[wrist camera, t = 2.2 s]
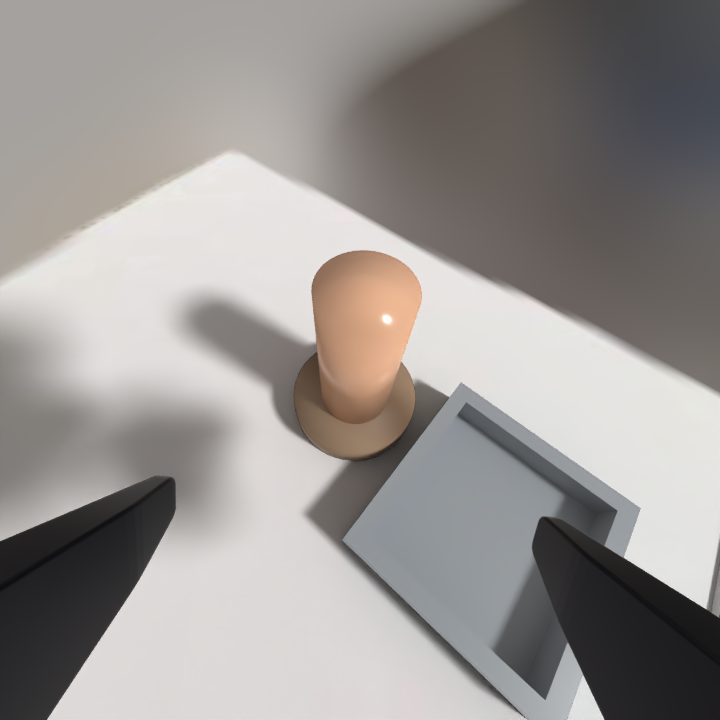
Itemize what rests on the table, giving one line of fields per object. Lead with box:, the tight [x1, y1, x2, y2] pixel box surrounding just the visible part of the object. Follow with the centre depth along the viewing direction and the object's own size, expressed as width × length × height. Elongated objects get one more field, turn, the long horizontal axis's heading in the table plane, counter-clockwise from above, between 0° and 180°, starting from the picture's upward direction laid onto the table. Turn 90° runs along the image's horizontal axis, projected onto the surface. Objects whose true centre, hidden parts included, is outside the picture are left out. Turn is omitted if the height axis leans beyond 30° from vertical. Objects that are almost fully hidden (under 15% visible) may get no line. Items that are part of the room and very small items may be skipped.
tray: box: [342, 383, 641, 720], centre depth 19 cm, size 12×12×2 cm
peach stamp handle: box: [312, 251, 422, 424], centre depth 18 cm, size 4×4×10 cm
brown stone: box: [294, 352, 415, 461], centre depth 23 cm, size 8×8×2 cm
